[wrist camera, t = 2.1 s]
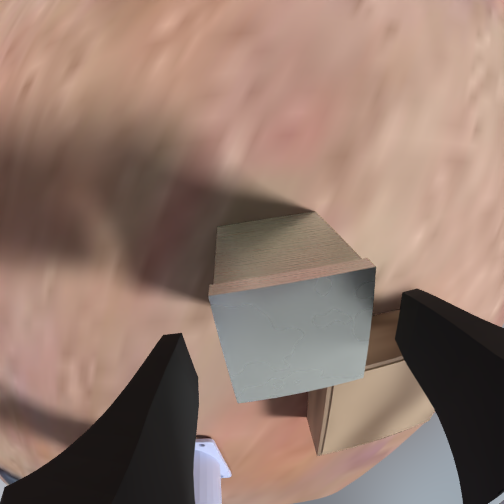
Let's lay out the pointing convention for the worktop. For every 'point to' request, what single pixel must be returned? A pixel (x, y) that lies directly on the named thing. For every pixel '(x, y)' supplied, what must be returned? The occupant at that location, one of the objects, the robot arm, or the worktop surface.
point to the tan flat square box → (369, 397)
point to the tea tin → (290, 306)
